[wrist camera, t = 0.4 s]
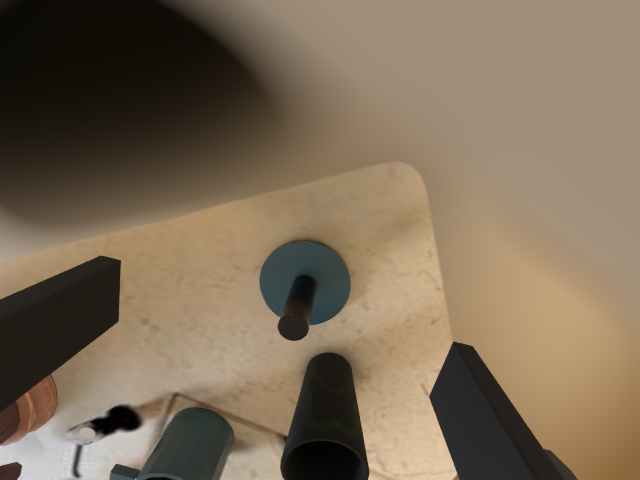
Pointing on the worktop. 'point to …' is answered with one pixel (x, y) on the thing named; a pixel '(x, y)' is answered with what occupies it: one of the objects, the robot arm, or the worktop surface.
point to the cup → (326, 426)
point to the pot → (185, 450)
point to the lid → (304, 286)
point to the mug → (26, 419)
